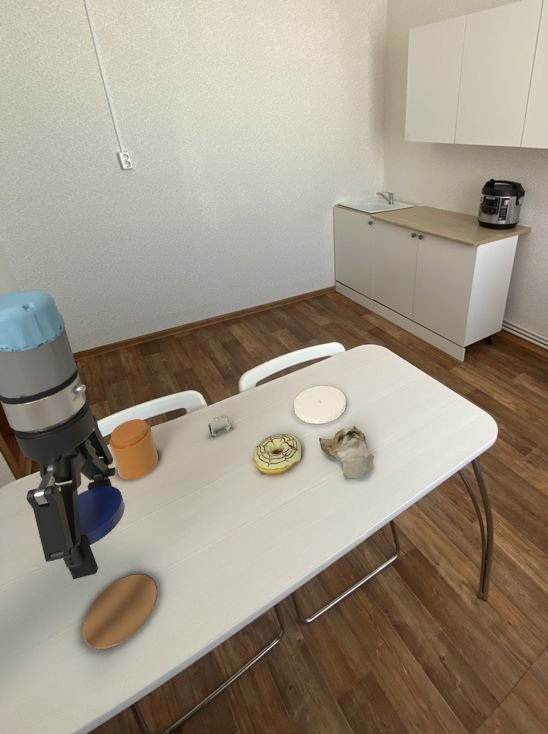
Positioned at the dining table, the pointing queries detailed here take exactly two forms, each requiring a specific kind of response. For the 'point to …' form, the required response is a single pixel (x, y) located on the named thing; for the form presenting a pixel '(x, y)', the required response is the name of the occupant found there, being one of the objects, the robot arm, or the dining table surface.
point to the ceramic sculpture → (349, 451)
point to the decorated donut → (280, 462)
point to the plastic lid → (320, 404)
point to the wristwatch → (218, 419)
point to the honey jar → (133, 449)
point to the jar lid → (99, 511)
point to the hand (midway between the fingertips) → (98, 541)
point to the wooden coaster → (119, 611)
